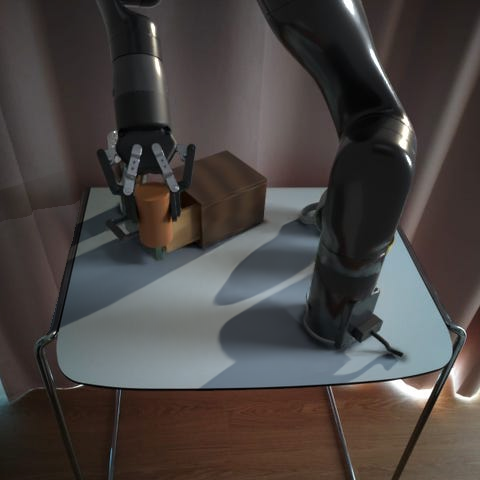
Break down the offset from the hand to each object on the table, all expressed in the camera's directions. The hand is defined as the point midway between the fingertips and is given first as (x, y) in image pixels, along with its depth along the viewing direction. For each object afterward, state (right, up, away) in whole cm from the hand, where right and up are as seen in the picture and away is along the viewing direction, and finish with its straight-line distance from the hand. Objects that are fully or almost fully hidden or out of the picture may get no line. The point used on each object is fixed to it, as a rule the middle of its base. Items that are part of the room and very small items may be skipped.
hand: (154, 222), depth 69 cm
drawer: (-3, +2, +22) cm, 23 cm away
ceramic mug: (+29, +5, +28) cm, 41 cm away
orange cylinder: (0, -1, +4) cm, 5 cm away
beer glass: (-9, +9, +30) cm, 32 cm away
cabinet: (+7, +6, +28) cm, 30 cm away
